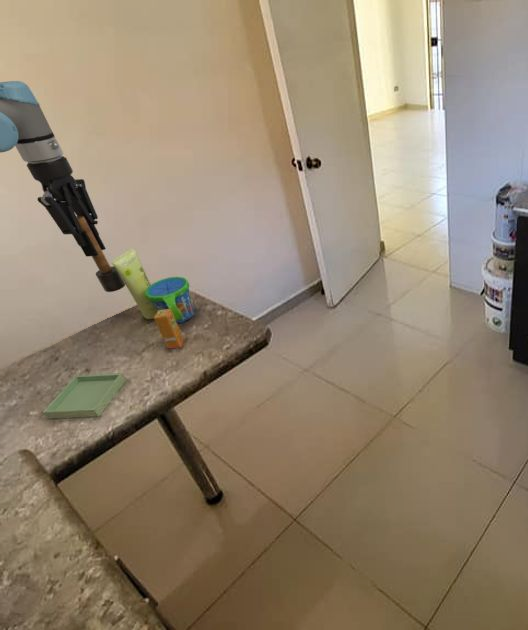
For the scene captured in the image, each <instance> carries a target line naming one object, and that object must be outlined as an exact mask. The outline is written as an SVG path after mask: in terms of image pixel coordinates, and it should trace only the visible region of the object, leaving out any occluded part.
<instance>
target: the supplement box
mask: <svg viewBox="0 0 528 630" xmlns="http://www.w3.org/2000/svg"><path fill="white" fill-rule="evenodd" d="M153 320H154V321H155V324H156V327H157V328H158V330H159V332H160V335H161V337H162V339H163V341H164V343H165V345H166V347H167V349H170V350H171V349H177V348H181V347H182V346H183V344H184V341H185V339H184V335H183V334H182V332H181V330H180V327H179V323H177V322H176V320H175V317H174V315H173V313H172V310H171V309H164V310H158V311H157V314H156V315H155V316H154V319H153Z"/></svg>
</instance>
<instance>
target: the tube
mask: <svg viewBox="0 0 528 630" xmlns="http://www.w3.org/2000/svg"><path fill="white" fill-rule="evenodd" d="M110 261H111V265H112V267H115V269H116V270H117V272H118V273H119V275H120V276H121V278H122V280H123V281H124V283H125V286H126V288H127V289H128V291H129V294H131V296H132V298H133V300H134V302H135V303H136V305H137V307H138V308H139V311H140V313H141V314H142V316H143V318H144V319H146V320H155V319H154V316H155V315H156V314H157V311H158V310H157V309H156V307H155V306H154V305H153V303H152V302H151V301H150V300H149V299H148V298H147V297H146V294H145V291H146V289H147V288H148V287H149V286H150V285H152V283H151V282H150V280H149V278H148V276H147V274H146V272H145V269H144V267H143V265H142V263H141V260H140V258H139V256H138V253H137V251H136V248H135V247H132V248H131V249H129V250H127V251H126V252H124V253H123V254H121V255H119V256H118V257H116V258H114V259H112V260H110Z"/></svg>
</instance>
